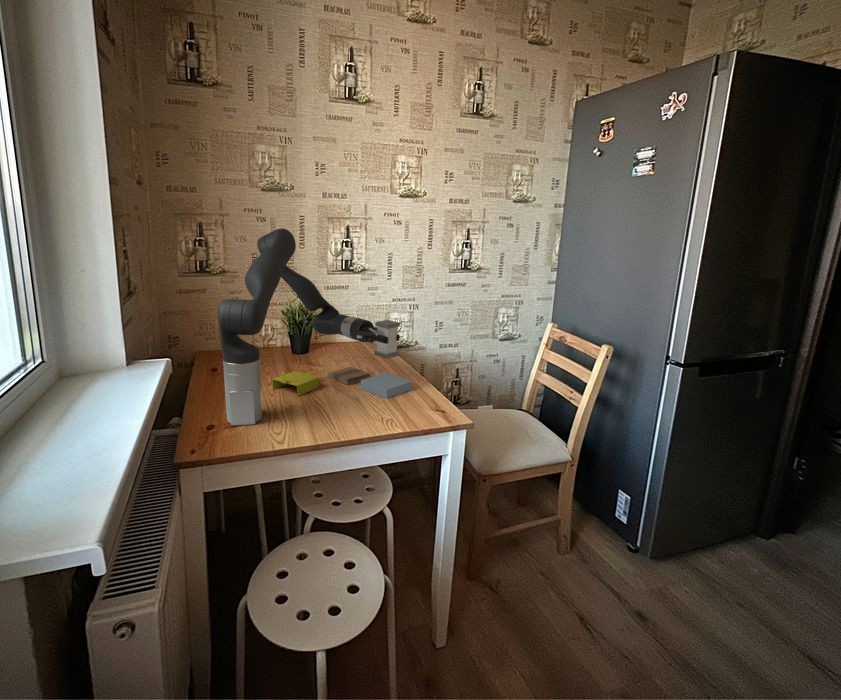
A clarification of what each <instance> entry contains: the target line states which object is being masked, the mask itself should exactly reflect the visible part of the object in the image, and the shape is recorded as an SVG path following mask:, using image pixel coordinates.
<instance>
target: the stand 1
mask: <svg viewBox="0 0 841 700" xmlns="http://www.w3.org/2000/svg"><path fill="white" fill-rule="evenodd" d="M370 374H371V373H369V372H367V371H364V370H362V369H358V368H355V367H353V366H349V367H345V368H342V369H341V368H340V369H337V370H334V371H329V372H328V379H330V378H331V379H330V380H333V379H334V380H333V381H335V380H336V381H335V382H338V381H339V382H338V383H340V382H342V383H341V384H343V383H344V384H343V385H345V384H346V386H350V384H351V385H354V384H358V383H361V380H363V379H366V378H370V377H371V375H370ZM357 382H358V383H357Z"/></svg>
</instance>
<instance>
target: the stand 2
mask: <svg viewBox="0 0 841 700" xmlns="http://www.w3.org/2000/svg"><path fill="white" fill-rule="evenodd" d="M360 389H361V390H364V391H366V392H368V393H371V394H373V395H376V396H379V397H382V398H383V399H386V400H387V399H390V398H392V397H395V396H398V395H400V394H404V393H406V392H409V391H412V390H413V380H410V379H407V378H404V377H401V376H398V375H395V374H392V373H389V372H383V373H381V374H377V375H374V376H373V375H372V376H370V378H366V379H363V380H361V382H360Z"/></svg>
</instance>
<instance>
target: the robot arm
mask: <svg viewBox="0 0 841 700" xmlns="http://www.w3.org/2000/svg"><path fill="white" fill-rule="evenodd" d="M256 243H257V244H256V245H257V249H258V251H259V256H258V257H256V258H254V259H255V260H254V261H253V262H252V263H251V264H250V266H249V268H248V269H247V271H246V273H245V276H244V284H245V288H246V289H247V291H248V293H249V294H250V295H251V297H252V299H241V298H240V299H239V298H237V299H236V298H235V299H234V298H226V299H222V300H221V301H220V303H219V305H218V307H217V308H218V309H217V324H218V331H219V338H220V339H219V341H220V348H221V349H220V350H221V354H222V365H223V379H224V395H225V409H226V411H225V413H226V422H228V423H229V424H230V425H231V426H245V425H247V426H248V425H249V426H250V425H256V423H258V422H259V421H261V419H262V418H263V404H262V388H261V387H262V385H261V384H262V383H261V361H260V359H261V358H260V356H261V355H260V350H259V347H257V346H256V345H254V344H251V343H250V342H247V341H245V340H244V339H242V338H241V337H240V336H254V335H258V334H259V333H260V332H261V331H262V329H263V327H264V324H265V321H266V317H267V314H268V310H269V306H270V303H271V301H272V298H273V296H274V294H275V292H276V290H277V287H278V285H279V283H280V280H281V279H282V280H283V281H284V282H285V283H286V285H288V287H290V288H291V290H292V291H293V292H294V293H295V294H296V296H297V297H298V299H299V300H300V302H301V303H302V305H304V308H305V309H306V310H307V311H308V312H315V311H317V310H319V309H321V311H320V312H319V313H318V314H317V315H315V317H314V318H313V319H312V323H311V325H312V327H313V329H314V330H315V331H316V332H317V333H318V334H320V335H326V336H329V335H333V336H334V335H339V336H344V337H346V338H348V339H351V340H354V341H357V342H360V343H374V342H375V343H377V342H381V343H385V344H387V343H388V337H386V336H383V335H379V334H377V326H374V324H373V322H372V321H370V320H367V319H364V318H360V317H356V316H349V315H346V314H341V313H340V312H339V310H337V309H336V308H335V307H334V306H333V305H331V304H330V302H328V301H327V300H326V299H325V298H324V297H323V296H322V294H321V292H320V291H319V289H318V288H317V286H316V285H315V284H314V283H313V282H312V281H311V280H310V279H309V278H307V277H306V276H304V275H302V274H300V273H298V272H296V271H295V270H293V269H291V268H290V267H289V266H288V265H287V264H289V261H290V260H291V259H292V257H293V255H294V254H295V253H296V252H295V251H296V247H297V246H296V245H297V244H296V239H295V237H294V235H293V234H292V232H291V231H289V230H288V229H286V228H283V227H282V228H277V229H275V230H272V231H270V232H269V233H267V234H265V235H262V236H261V237H259V238H258V239H257V241H256ZM239 335H240V336H239ZM399 341H400V334H398V333H397V342H399Z"/></svg>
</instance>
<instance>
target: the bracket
mask: <svg viewBox="0 0 841 700" xmlns="http://www.w3.org/2000/svg"><path fill="white" fill-rule="evenodd" d="M315 373H317V370H314V371H313V370H310V371H307V372H301V371H296V370H294V371H292V372H288V373H285V372H284V371H281V372H280V376H278V377H274V378H272V379H271V380H272V390H273V389H274V390H276V389H278V388H277V387H279V388H281V387H280V386H282V387H283V385H284V386H286V384H287V385H292V386H295V387H296V397H297V396H298V397H300V396H302V395H301V394H303V395H305V394H307V393H306V392H308V391H310V392H312V391H314V390H313V389H315V390H317V389H319V388H320V377H319V376H317V375H314V374H315ZM318 387H319V388H318ZM275 388H276V389H275ZM316 388H317V389H316ZM311 390H312V391H311ZM304 393H305V394H304ZM308 393H309V392H308ZM299 395H300V396H299Z"/></svg>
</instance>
